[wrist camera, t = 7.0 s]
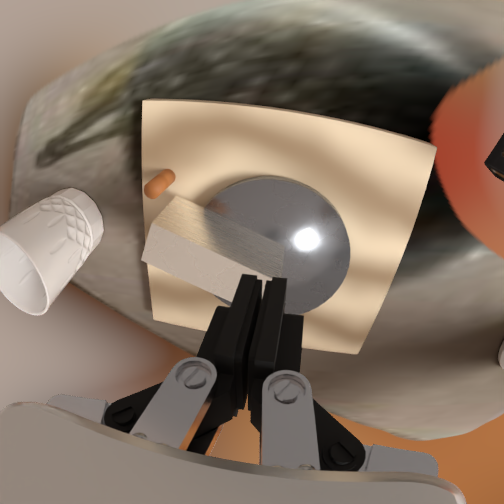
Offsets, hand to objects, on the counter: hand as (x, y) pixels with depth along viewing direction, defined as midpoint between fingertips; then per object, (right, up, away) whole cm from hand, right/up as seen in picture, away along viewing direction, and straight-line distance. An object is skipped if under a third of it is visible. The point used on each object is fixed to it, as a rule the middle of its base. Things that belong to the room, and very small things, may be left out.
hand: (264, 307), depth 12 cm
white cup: (-18, +5, +16) cm, 24 cm away
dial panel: (+1, +3, +14) cm, 14 cm away
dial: (0, +3, +12) cm, 12 cm away
